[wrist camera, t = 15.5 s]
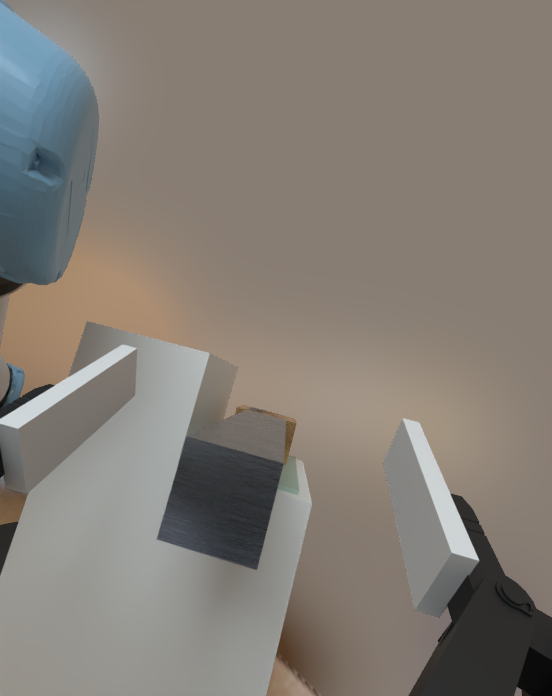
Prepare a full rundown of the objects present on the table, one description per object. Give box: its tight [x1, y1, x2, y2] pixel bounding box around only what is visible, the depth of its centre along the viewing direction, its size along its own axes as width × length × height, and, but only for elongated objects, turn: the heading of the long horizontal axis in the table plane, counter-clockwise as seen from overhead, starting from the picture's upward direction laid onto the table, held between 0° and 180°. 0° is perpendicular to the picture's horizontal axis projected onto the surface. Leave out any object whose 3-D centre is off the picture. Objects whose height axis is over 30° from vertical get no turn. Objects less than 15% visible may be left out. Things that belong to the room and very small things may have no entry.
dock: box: [0, 321, 312, 696], centre depth 30 cm, size 14×20×30 cm
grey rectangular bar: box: [157, 405, 296, 570], centre depth 24 cm, size 24×6×4 cm, turn 178°
